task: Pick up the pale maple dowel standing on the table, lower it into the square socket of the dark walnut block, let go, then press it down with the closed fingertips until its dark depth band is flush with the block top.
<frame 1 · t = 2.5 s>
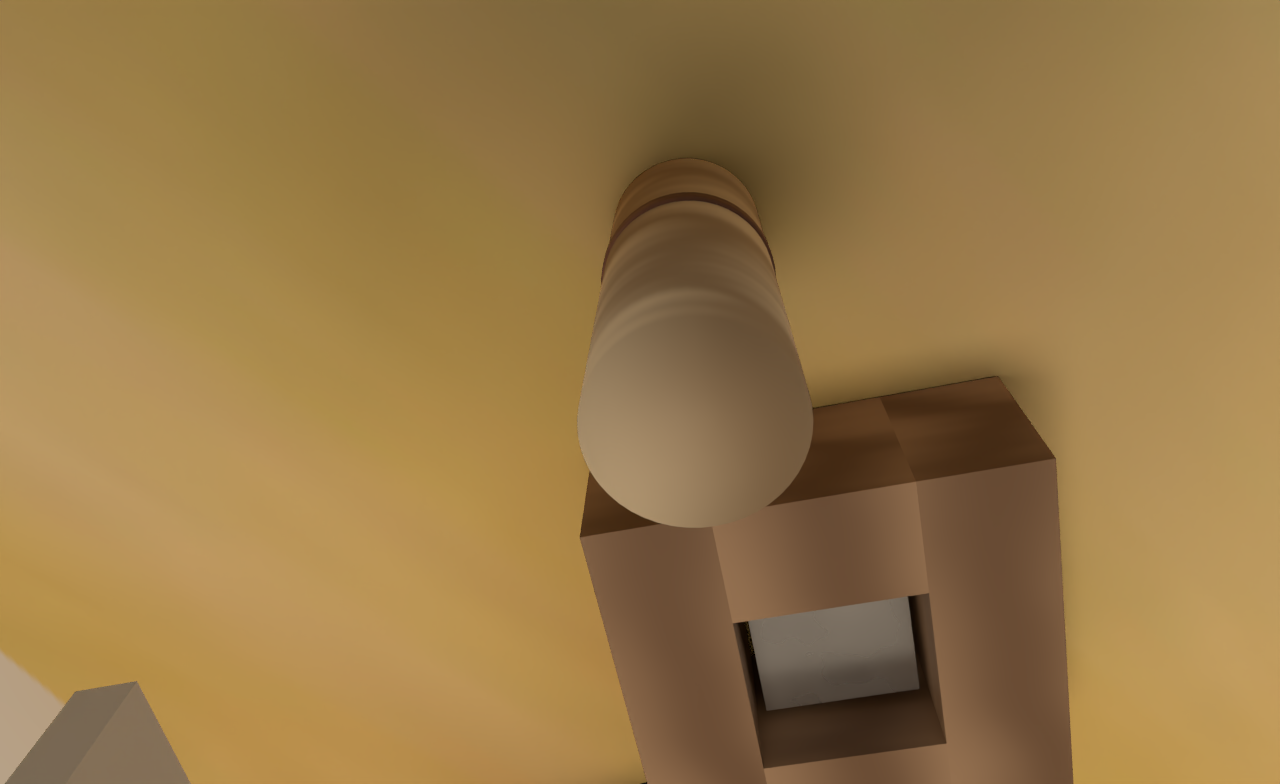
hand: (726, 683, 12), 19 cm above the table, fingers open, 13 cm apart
socket block: (819, 579, 33), on the table
peg: (686, 231, 29), on the table
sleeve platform: (830, 630, 31), point 3 cm above the table, slide at 0.0 cm
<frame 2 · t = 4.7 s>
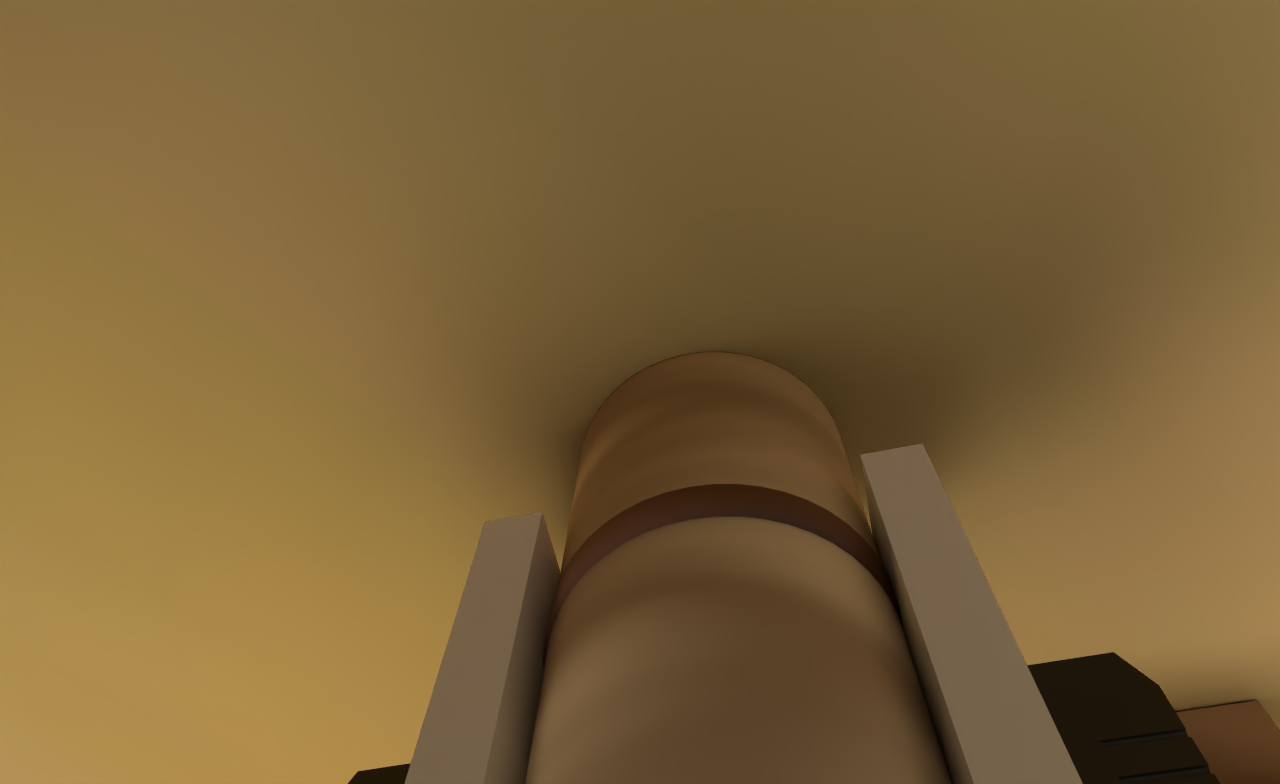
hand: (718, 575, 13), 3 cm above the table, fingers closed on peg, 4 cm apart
peg: (711, 474, 16), on the table, touching gripper
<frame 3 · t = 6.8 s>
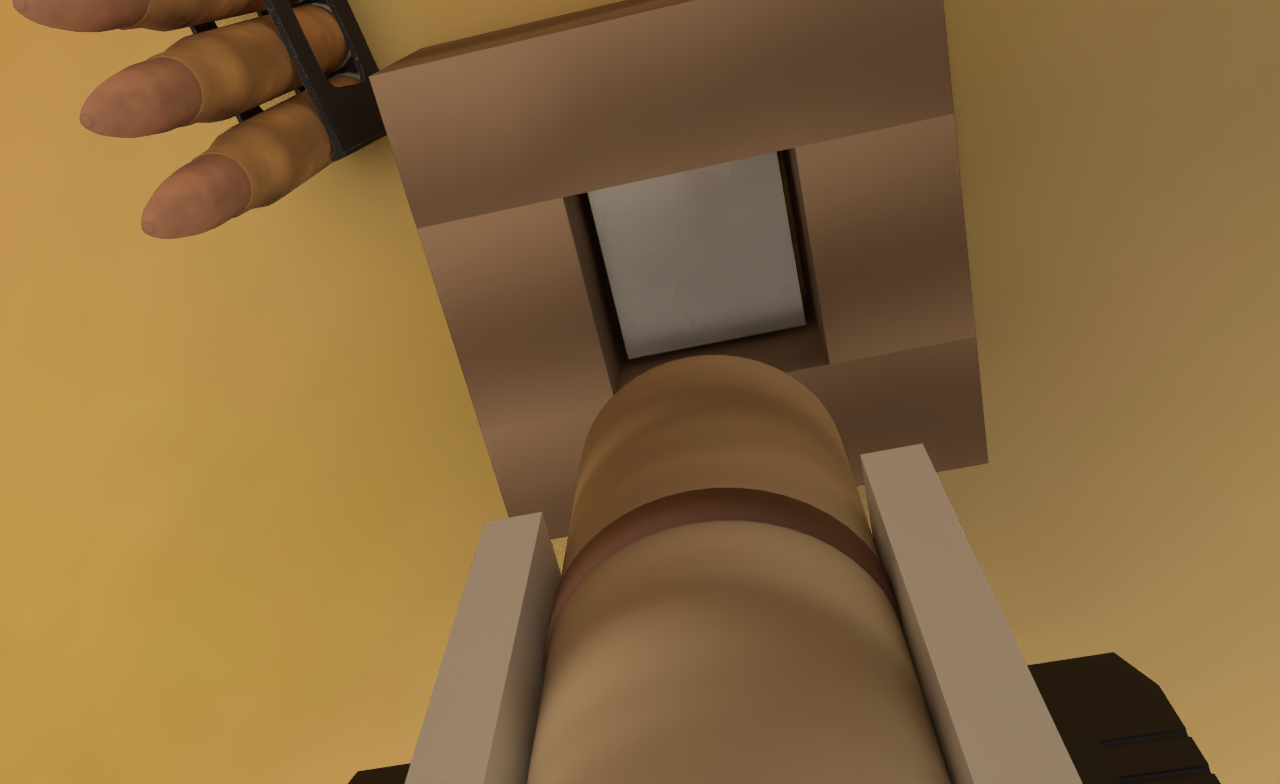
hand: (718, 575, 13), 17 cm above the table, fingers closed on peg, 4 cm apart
socket block: (696, 224, 29), on the table
peg: (712, 477, 16), point 14 cm above the table, touching gripper
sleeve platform: (698, 252, 26), point 3 cm above the table, slide at 0.0 cm
when the fingers open (7 cm above the table, at t = 8.8 s): peg drops 2 cm, resting on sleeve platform.
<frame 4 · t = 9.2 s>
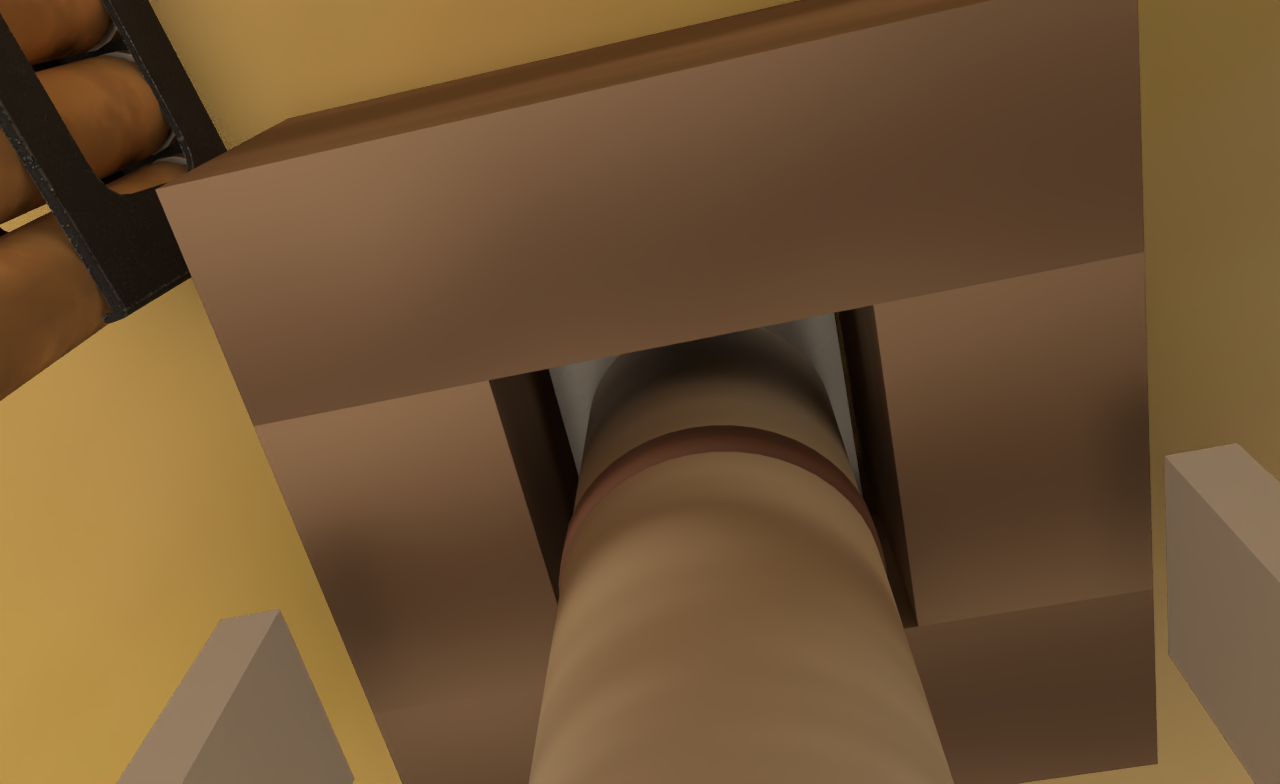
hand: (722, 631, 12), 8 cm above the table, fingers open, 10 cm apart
socket block: (704, 370, 19), on the table
peg: (710, 431, 17), point 2 cm above the table, touching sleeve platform
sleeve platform: (707, 419, 18), point 2 cm above the table, slide at 0.5 cm, touching peg
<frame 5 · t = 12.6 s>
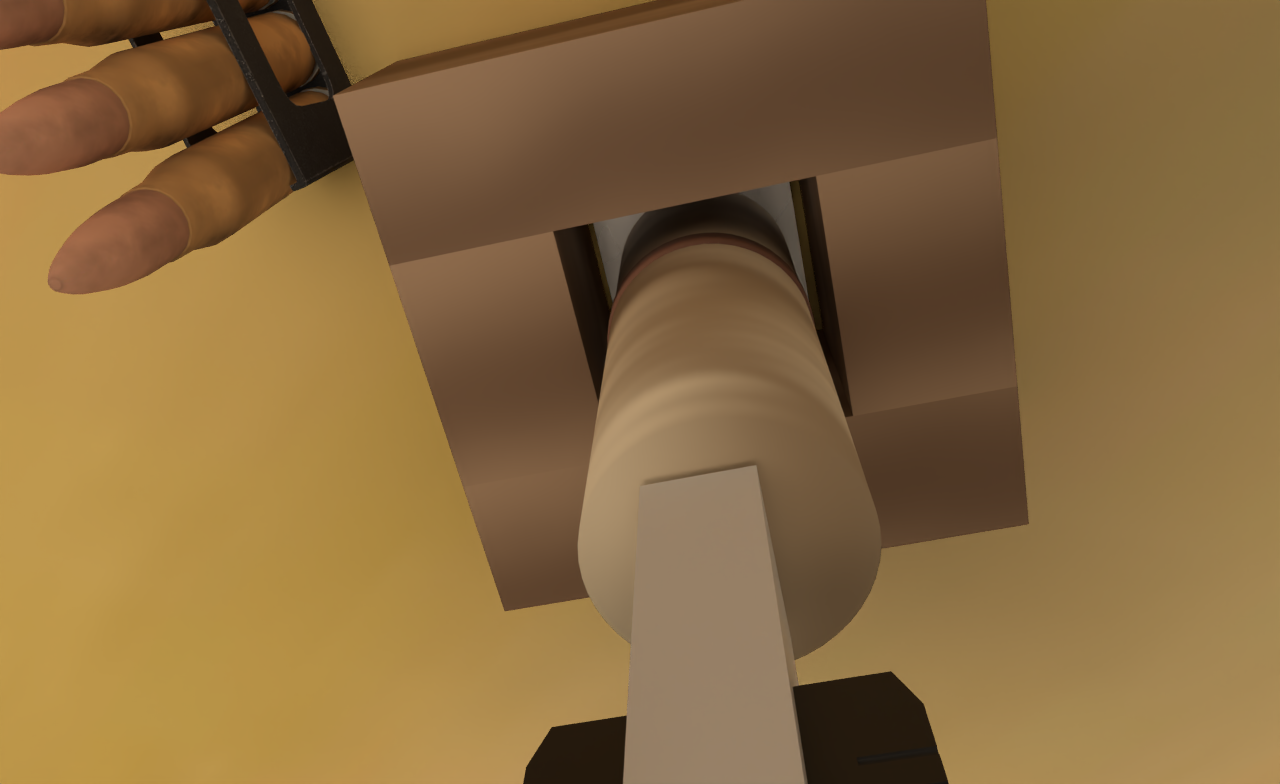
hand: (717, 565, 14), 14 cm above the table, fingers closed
socket block: (702, 254, 26), on the table
peg: (705, 270, 25), point 1 cm above the table, touching gripper, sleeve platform
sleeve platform: (703, 264, 25), point 1 cm above the table, slide at 1.8 cm, touching peg
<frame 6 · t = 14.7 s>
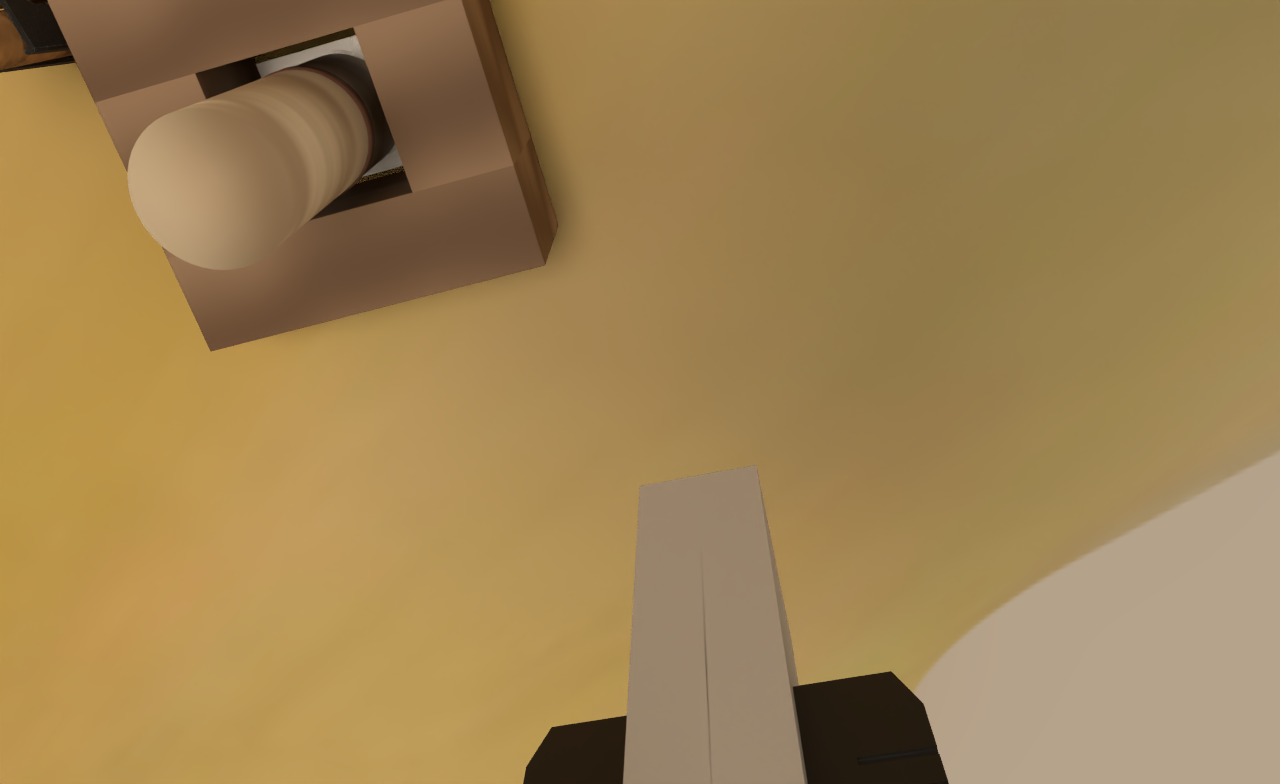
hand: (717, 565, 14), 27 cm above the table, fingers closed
socket block: (348, 108, 37), on the table
peg: (343, 113, 37), point 1 cm above the table, touching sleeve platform
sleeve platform: (345, 110, 37), resting in socket block, slide at 2.2 cm, touching peg
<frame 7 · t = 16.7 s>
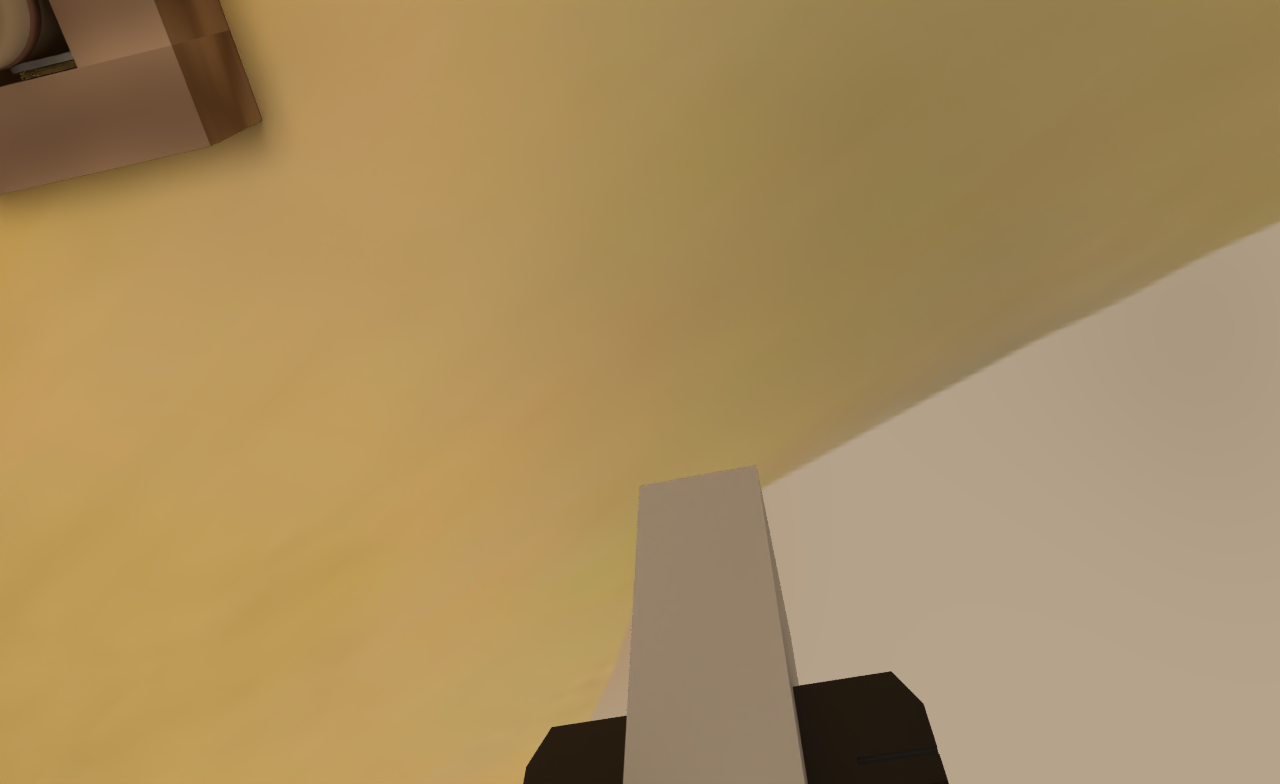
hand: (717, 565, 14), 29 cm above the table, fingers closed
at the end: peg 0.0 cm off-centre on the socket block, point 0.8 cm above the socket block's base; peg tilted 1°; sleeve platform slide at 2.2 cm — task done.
